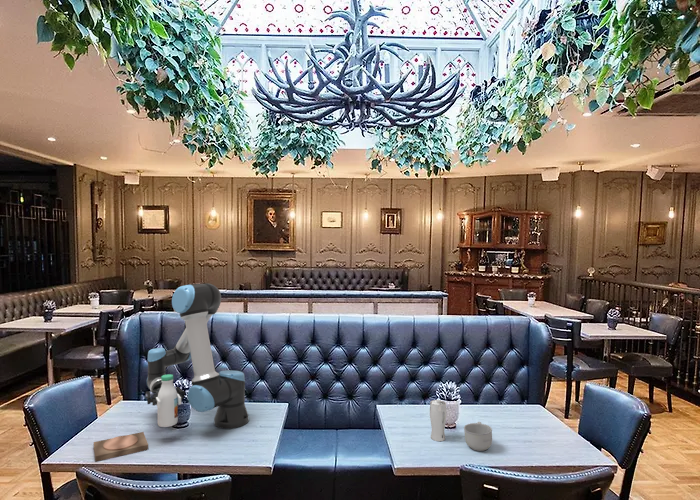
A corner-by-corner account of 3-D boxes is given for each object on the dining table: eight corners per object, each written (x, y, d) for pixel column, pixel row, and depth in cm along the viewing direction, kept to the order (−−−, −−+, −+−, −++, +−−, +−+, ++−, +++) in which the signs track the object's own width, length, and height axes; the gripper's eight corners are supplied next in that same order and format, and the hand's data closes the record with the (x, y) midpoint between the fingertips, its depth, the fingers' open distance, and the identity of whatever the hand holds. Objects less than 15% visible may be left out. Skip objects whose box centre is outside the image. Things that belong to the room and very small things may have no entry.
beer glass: (428, 440, 177) (428, 404, 177) (431, 433, 184) (431, 398, 184) (445, 443, 175) (445, 406, 175) (447, 436, 182) (447, 400, 182)
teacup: (488, 456, 164) (488, 435, 164) (460, 449, 170) (460, 429, 170) (496, 442, 176) (496, 423, 176) (470, 436, 181) (470, 417, 181)
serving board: (143, 436, 180) (143, 430, 180) (148, 449, 168) (148, 443, 168) (93, 447, 170) (93, 440, 170) (95, 461, 158) (95, 454, 158)
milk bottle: (170, 428, 172) (169, 378, 172) (153, 426, 173) (152, 377, 173) (181, 420, 179) (181, 373, 180) (165, 419, 181) (164, 372, 181)
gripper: (183, 392, 197) (195, 407, 178) (135, 400, 186) (142, 417, 167) (183, 376, 197) (195, 389, 178) (135, 383, 186) (142, 398, 167)
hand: (169, 402), depth 172 cm, fingers closed on milk bottle, 7 cm apart
